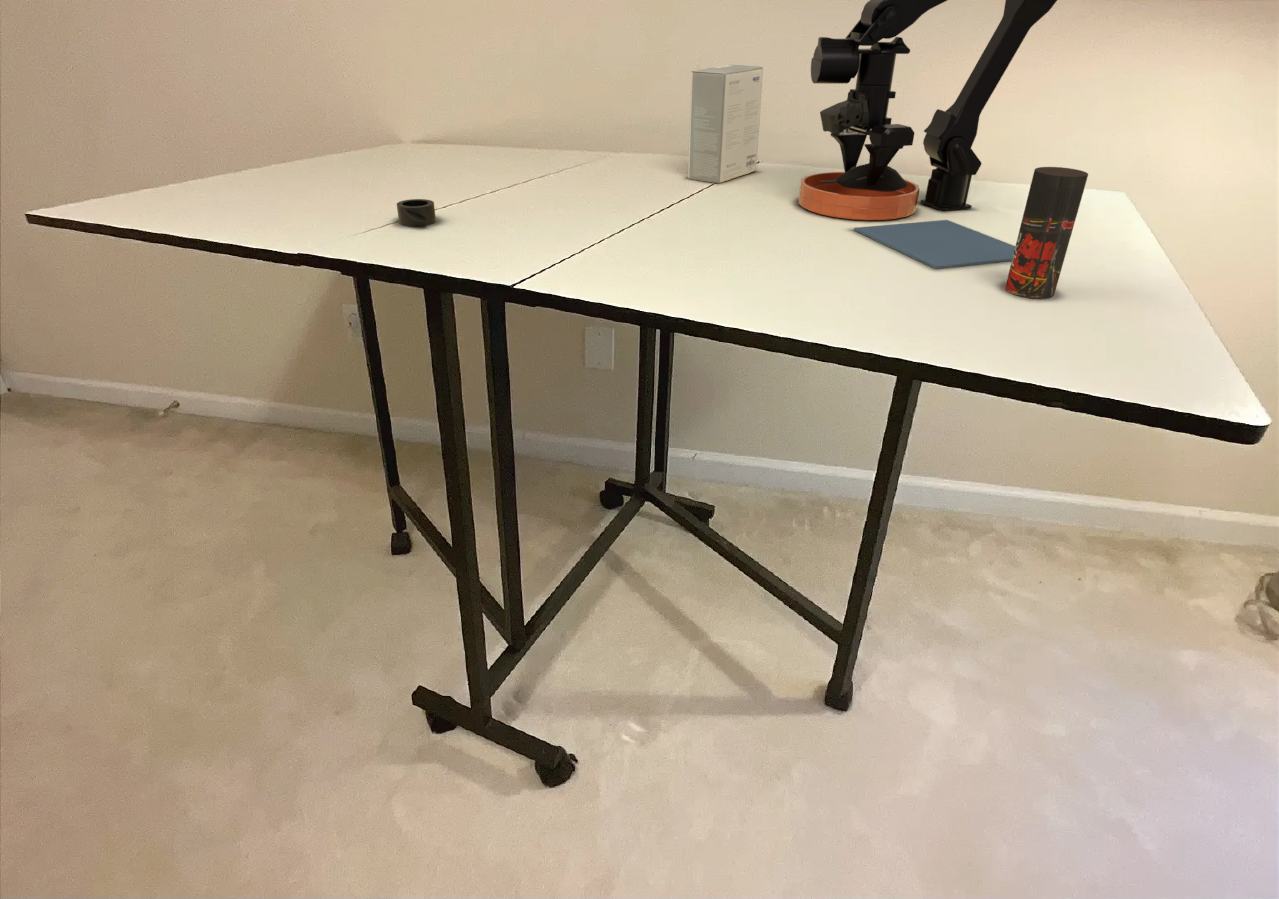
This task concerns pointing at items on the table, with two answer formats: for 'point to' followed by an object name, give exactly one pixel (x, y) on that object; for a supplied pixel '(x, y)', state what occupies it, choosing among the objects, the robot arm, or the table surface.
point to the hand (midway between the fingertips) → (859, 181)
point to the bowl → (855, 199)
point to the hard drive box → (724, 122)
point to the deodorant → (1045, 231)
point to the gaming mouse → (859, 179)
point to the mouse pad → (941, 243)
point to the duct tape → (416, 212)
